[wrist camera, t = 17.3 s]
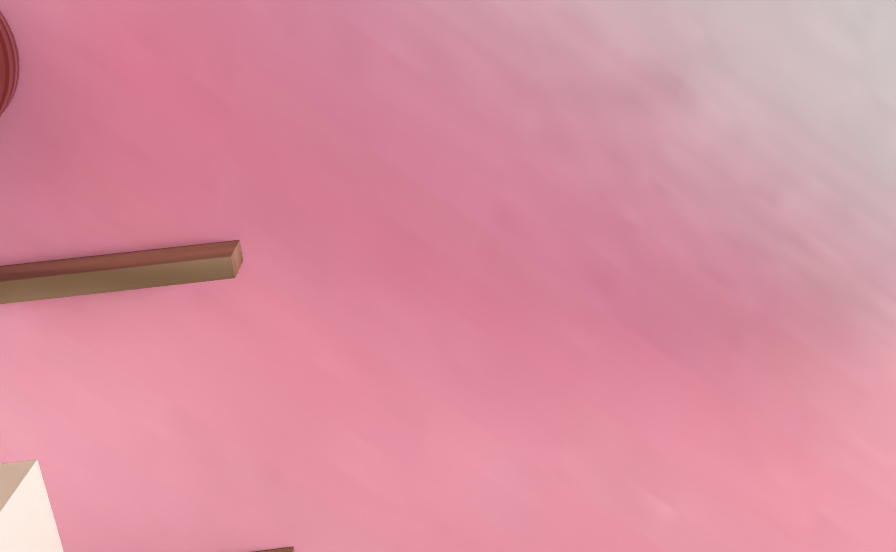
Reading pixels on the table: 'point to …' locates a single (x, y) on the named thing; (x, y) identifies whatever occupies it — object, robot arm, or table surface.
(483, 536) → the table surface
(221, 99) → the table surface
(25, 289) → the bar
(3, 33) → the mug
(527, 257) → the table surface
